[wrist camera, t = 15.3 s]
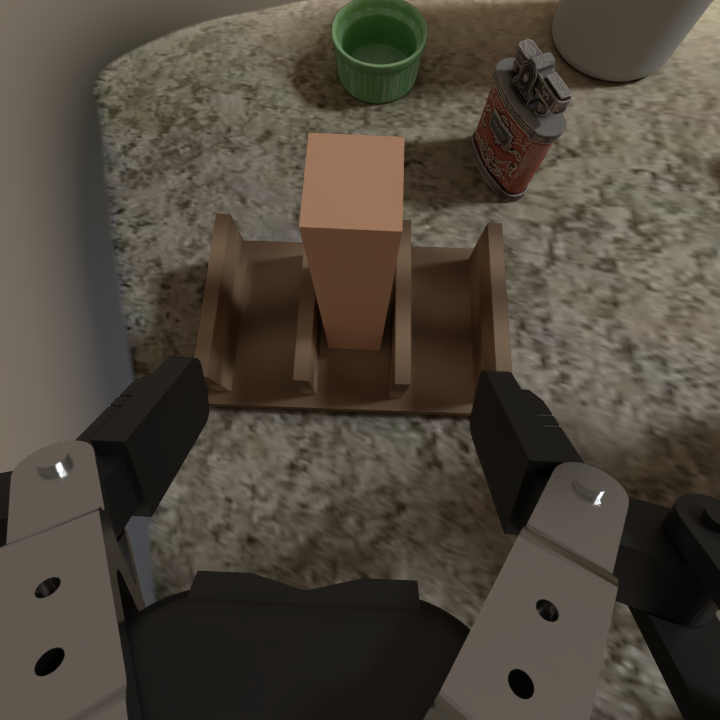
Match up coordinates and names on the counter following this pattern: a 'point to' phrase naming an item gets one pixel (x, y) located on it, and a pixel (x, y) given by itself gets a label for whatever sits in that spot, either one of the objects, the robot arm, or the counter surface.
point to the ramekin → (378, 48)
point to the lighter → (519, 120)
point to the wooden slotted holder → (352, 366)
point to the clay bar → (353, 232)
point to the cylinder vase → (622, 34)
